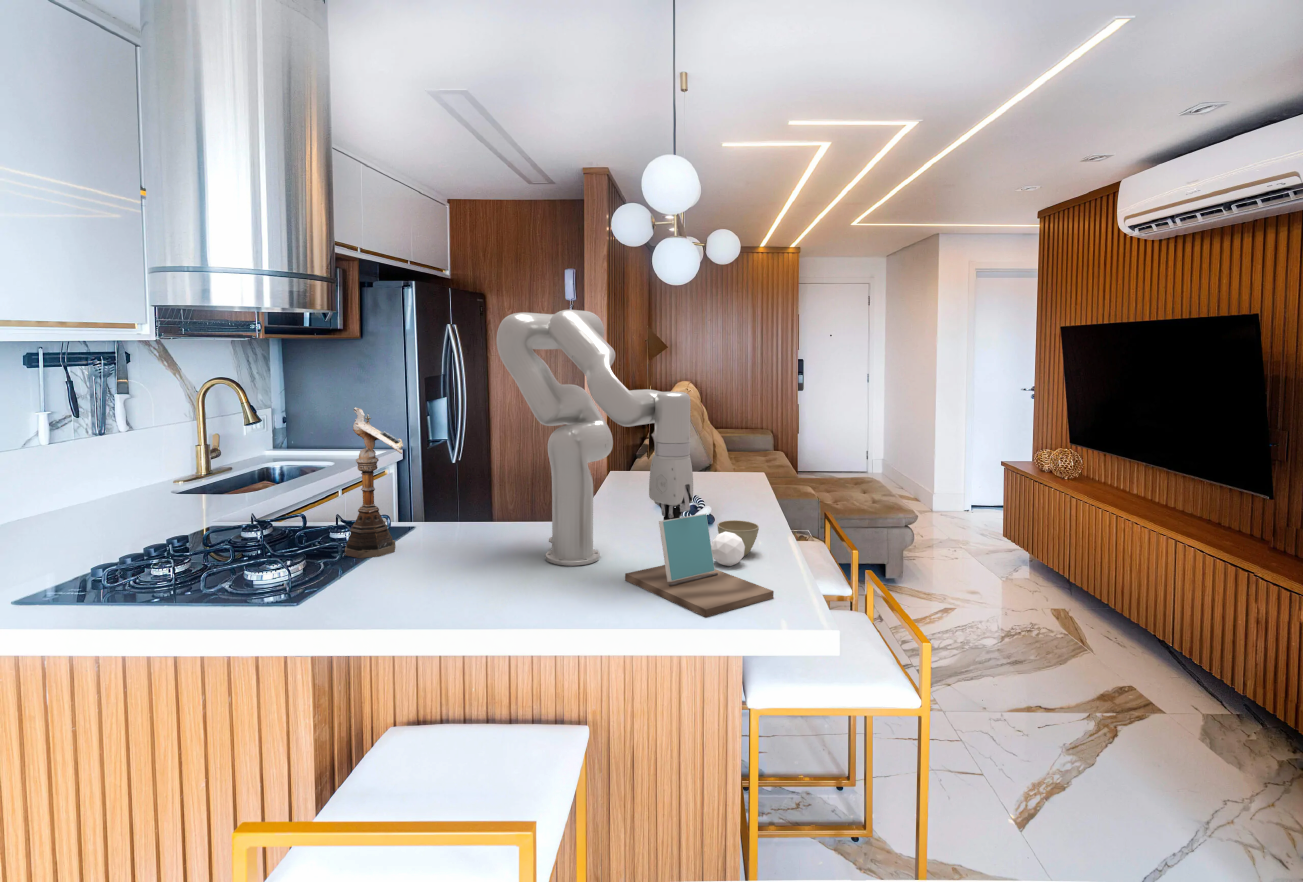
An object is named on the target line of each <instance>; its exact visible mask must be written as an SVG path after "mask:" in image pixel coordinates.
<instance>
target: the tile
mask: <svg viewBox="0 0 1303 882" xmlns="http://www.w3.org/2000/svg"><path fill="white" fill-rule="evenodd" d="M658 525H659V532H660V540H661V546H662V552H663V553H662V554H663V561H664V565H665V568H666V575H667V582H672V581H676V580H680V579H684V578H689V577H693V576H697V575H701V574H706V573H710V572H714V571H715V569H716V568H715V563H714V558H713V555H712V548H711V543H712V540H711V536H710V529H709V524H708V516H707V513H700V514H694V515H687V516H681V517H680V518H675V519H669V520H664V519H663V520H658Z"/></svg>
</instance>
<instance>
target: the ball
mask: <svg viewBox="0 0 1303 882" xmlns="http://www.w3.org/2000/svg"><path fill="white" fill-rule="evenodd" d="M711 548H712V555H713V561H714V560H715V561H716V563H718V564H720V565H722V566H727V567H732V566H734V565H736V564H738V563H739V562H741V560H742V558H743V557H745V556H744V550H745V546H744V543H743V541H742V538H740V537H739V536H737V535H736V534H735V533H730V532H726V531H725V532H723V533H720V534H719V533H718V534H717V535H716V536H715V537H714V538H713V540H711Z"/></svg>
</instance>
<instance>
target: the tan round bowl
mask: <svg viewBox="0 0 1303 882" xmlns="http://www.w3.org/2000/svg"><path fill="white" fill-rule="evenodd" d="M759 528H760V526H759V525H758V523H755V522H752V521H747V520H738V519H734V520H733V519H732V520H731V519H730V520H729V519H728V520H722V521H720V522H718V523H717V533H718V534H720V533H723V532H725V531H726V532H730V533H735V534H736V535H737V536H739V537H740V538H742V541H743V543H744V546H745V550H744V556H743V557H746V556H748V554H749V553H750V551H751V550H752V548H753V547H754V545H755V542H756V540H757V537H758V534H759Z"/></svg>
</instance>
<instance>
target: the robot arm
mask: <svg viewBox="0 0 1303 882" xmlns="http://www.w3.org/2000/svg"><path fill="white" fill-rule="evenodd" d="M604 335H605V326H604V324H603V321H602V320H601V318H600V317H599V316H598V315H597V314H595V313H594V312H592V311H588V310H581V309H580V310H579V309H578V310H577V309H563V310H560V311H557V312H556V313H553V314H552V313H539V312H538V313H537V312H525V311H524V312H522V311H521V312H514V313H511V314H509V315H507V316H505V317H504V318H503V319H502V320H501V322H500V323H499V325H498V329H497V333H496V349H497V352H498V355H499V358H500V360H501V362H502V364H503V366H504V367H505V368H506V370H507V372H508V373H509V374H510V375H511V378H512V379H513V380H514V381H515V383H516V385H517V387H518V389H519V391H520V393H521V395H522V396H523V398H524V400H525V402H526V403H527V405H528V407H529V408H530V411H531V412H532V414H533V416H534V417H535V418H536V420H537V422H538V423H540V424H541V425H542V426H547V427H551V426H553V427H554V426H560V427H558V428H556V429H555V430H554V431H553V432H552V433H551V434H550V436H549V437H548V441H547V455H548V459H549V463H550V466H549V467H550V473H551V508H552V509H551V510H552V511H551V513H552V515H551V516H552V518H551V529H552V530H551V531H552V532H551V536H550V537H549V538H548V542H549V543H550V544H551V549H550V550H548V551H547V552H546V553H545V560H546V562H548V563H551V564H553V565H559V566H564V567H565V566H567V567H568V566H573V567H574V566H576V567H577V566H585V565H589V564H593V563H595V562H597V561H598V560H600V557H601V556H600V551H598V550H597V549H594V481H593V480H594V479H593V476H592V473H591V470H590V468H589V464H590V463H593V462H597V461H601V460H604V459H605V458H606V457H608V456H609V455H610V454H611V452H612V450H613V445H614V440H613V439H614V438H613V435H612V432H611V429H610V428H609V425H608V424H607V422H606V420H605V419H604V417H603V415H602V413H601V411H600V410H599V409H598V407H599V408H600V409H601V410H602V412H604V413H605V415H606V416H608V417H609V418H610V420H612V421H613V422H614V423H616V424H617V425H620V426H622V427H628V428H630V427H635V426H636V427H637V426H642V425H648V424H649V425H650V424H654V454H653V455H652V458H651V463H650V468H649V470H650V472H649V481H648V482H649V483H648V497H649V498H650V500H652V501H654V503H655V505H657V506H658V507H659V508H660V510H661V512H660V513H661V516H662V517H663V520H669V519H675V518H681V517H683V513H684V512H690V511H691V505H690V504H691V503H692V502H693V500H694V499H693V498H694V476H693V475H694V474H693V467H692V458H691V455H690V454H691V396H690V395H689V394H688V392H685V391H684V392H683V391H660V390H656V389H647V388H646V389H644V388H643V389H632V390H629V388H627V387H626V386H625V385H624V384H623V383H622V381H620V380H619V379H618V377H617V376H616V375H615V374H614V372H613V370H612V368H611V367H612V366H613V364H614V362H615V359H616V352H615V350H614V347H612V346H611V345H610V344H609V343H608V342H607V341H606V339H604ZM534 350H562V352H563V353H564V354H565V355H566V356H567V358H569V359H570V360H571V361H572V362H573V363H574V364H575V366H576V367H577V368H578V369H579V370H580V371H581V372H582V373H583V374H584V376H585V377H586V379H585V380H586V384H587V387H588V390H589V393H588V392H587V391H586V389H584V388H583V387H581V386H579V385H577V384H569V383H566V384H565V383H564V384H562V383H561V382H559V381H558V380H557V379H556V377H555V375H554V374H553V373H552V371H551V369H550V367H549V366H548V364H547V363H546V361H544V359H542V358H541V356H539V355H538V354H537V353H536V352H535V351H534ZM597 406H598V407H597Z"/></svg>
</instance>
